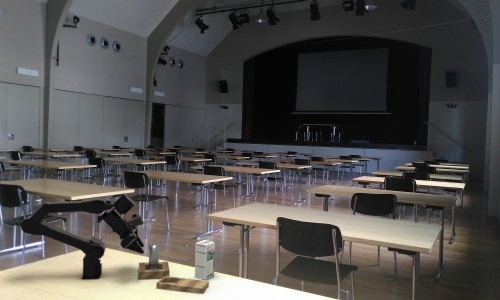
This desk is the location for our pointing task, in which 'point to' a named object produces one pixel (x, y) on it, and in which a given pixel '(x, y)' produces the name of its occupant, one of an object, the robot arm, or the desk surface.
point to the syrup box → (204, 259)
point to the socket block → (153, 271)
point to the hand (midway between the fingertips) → (143, 249)
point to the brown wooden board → (183, 284)
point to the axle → (153, 256)
